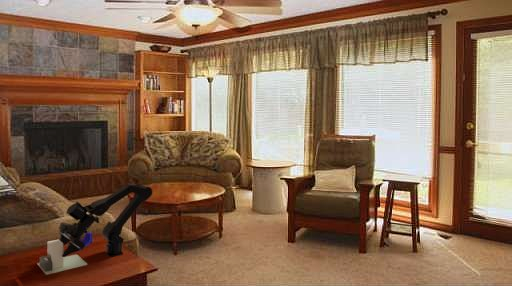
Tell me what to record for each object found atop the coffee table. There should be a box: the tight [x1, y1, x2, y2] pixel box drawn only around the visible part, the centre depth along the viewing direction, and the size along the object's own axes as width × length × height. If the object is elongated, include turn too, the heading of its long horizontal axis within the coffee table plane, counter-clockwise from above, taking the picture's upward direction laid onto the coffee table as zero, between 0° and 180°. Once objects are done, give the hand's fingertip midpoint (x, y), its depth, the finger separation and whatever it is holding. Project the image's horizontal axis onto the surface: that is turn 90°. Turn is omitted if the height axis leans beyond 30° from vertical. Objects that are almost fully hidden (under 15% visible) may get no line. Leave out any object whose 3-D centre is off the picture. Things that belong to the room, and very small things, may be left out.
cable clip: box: [76, 232, 93, 252], centre depth 219 cm, size 12×4×6 cm, turn 171°
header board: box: [36, 254, 88, 276], centre depth 198 cm, size 18×14×5 cm
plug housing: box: [46, 238, 64, 269], centre depth 195 cm, size 5×6×11 cm
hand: (59, 253), depth 196 cm, fingers open, 9 cm apart
